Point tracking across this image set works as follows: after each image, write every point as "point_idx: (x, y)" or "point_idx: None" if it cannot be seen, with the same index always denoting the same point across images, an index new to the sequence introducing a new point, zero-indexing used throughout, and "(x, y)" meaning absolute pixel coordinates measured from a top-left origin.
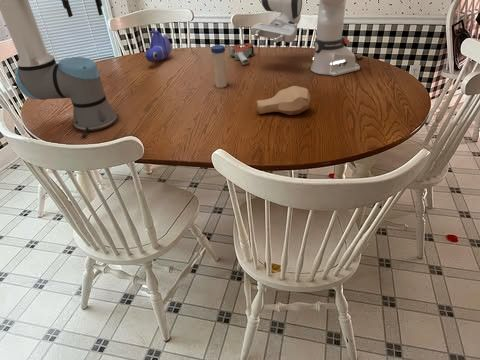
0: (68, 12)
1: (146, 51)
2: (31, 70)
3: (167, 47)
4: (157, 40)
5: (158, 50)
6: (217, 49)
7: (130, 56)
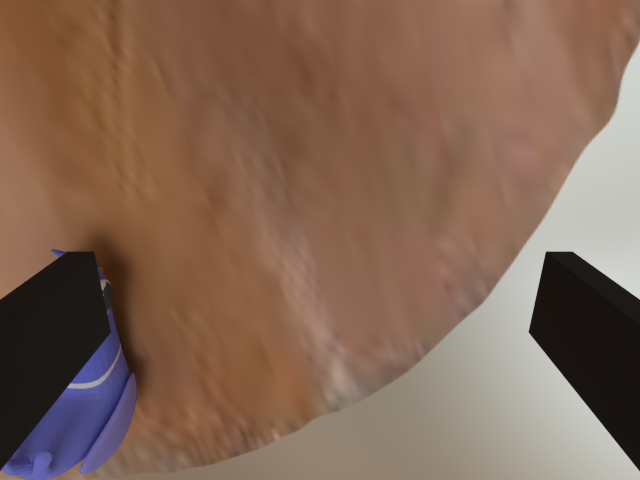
0: (595, 281)
1: None
2: None
3: None
4: (46, 420)
5: None
6: None
7: (280, 418)
